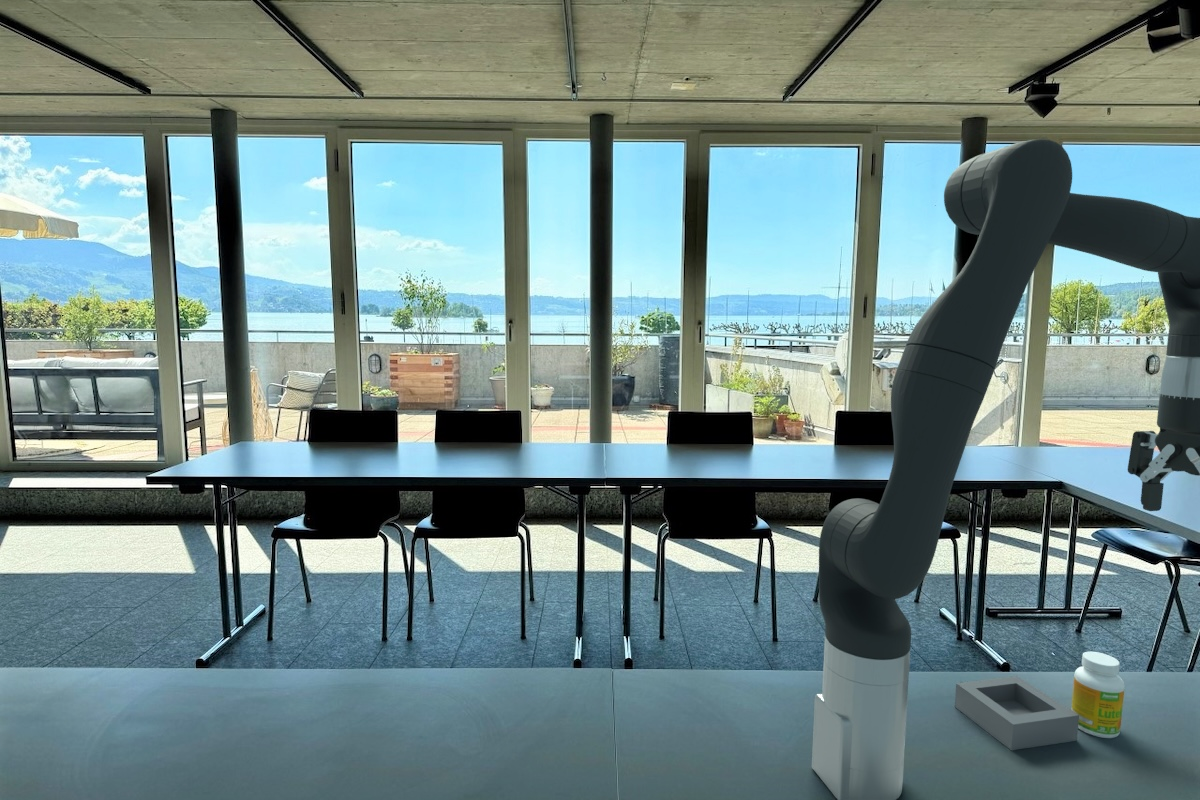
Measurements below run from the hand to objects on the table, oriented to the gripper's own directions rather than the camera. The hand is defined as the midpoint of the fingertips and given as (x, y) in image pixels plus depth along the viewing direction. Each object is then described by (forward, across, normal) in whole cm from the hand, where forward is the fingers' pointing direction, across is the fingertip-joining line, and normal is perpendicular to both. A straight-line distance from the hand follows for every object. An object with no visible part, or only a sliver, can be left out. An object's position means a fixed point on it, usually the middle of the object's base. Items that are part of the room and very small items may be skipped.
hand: (1185, 519), depth 86 cm
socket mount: (+29, -6, -18) cm, 34 cm away
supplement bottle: (+29, -3, -8) cm, 30 cm away
